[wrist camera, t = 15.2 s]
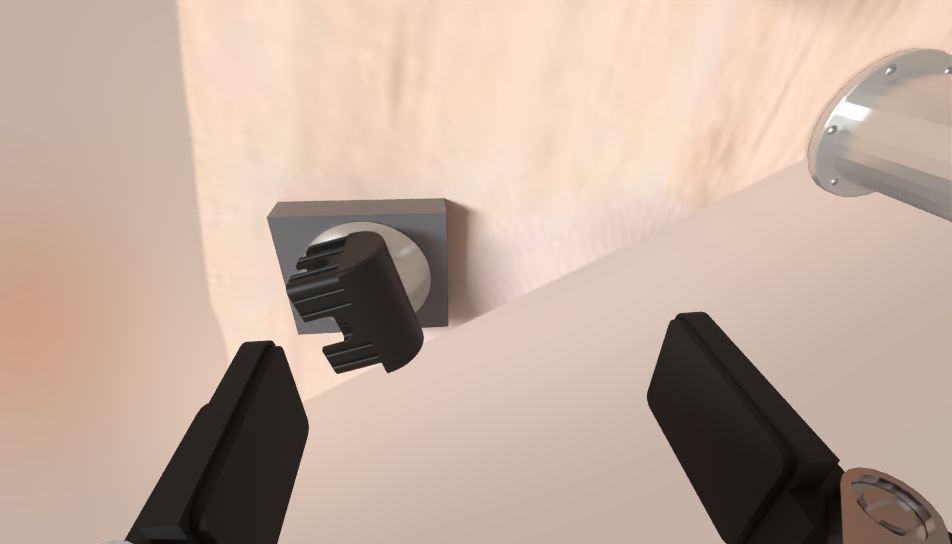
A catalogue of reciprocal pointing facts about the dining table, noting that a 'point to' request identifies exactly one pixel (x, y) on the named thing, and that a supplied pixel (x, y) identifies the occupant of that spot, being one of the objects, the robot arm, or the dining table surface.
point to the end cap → (358, 302)
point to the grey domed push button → (406, 235)
